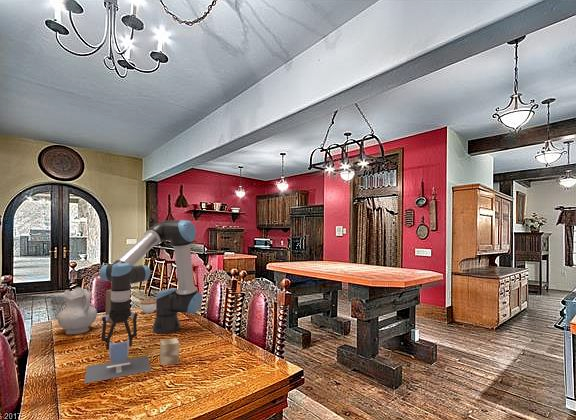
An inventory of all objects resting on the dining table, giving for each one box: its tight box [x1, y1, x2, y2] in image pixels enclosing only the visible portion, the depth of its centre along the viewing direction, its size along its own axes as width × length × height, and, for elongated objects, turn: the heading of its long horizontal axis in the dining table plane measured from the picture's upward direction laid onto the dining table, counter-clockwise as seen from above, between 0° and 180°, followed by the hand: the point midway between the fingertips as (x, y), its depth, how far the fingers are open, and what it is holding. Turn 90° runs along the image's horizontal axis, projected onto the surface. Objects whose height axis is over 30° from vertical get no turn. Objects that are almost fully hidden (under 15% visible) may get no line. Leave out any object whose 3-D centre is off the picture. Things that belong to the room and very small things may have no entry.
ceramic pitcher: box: [56, 286, 98, 335], centre depth 191 cm, size 22×20×25 cm
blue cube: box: [110, 341, 128, 363], centre depth 140 cm, size 6×6×6 cm
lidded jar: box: [140, 298, 156, 314], centre depth 234 cm, size 11×11×9 cm
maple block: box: [159, 337, 180, 366], centre depth 148 cm, size 7×7×9 cm
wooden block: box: [104, 288, 131, 324], centre depth 214 cm, size 10×10×20 cm
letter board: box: [83, 355, 153, 384], centre depth 140 cm, size 24×18×1 cm
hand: (118, 355), depth 140 cm, fingers closed on blue cube, 6 cm apart
